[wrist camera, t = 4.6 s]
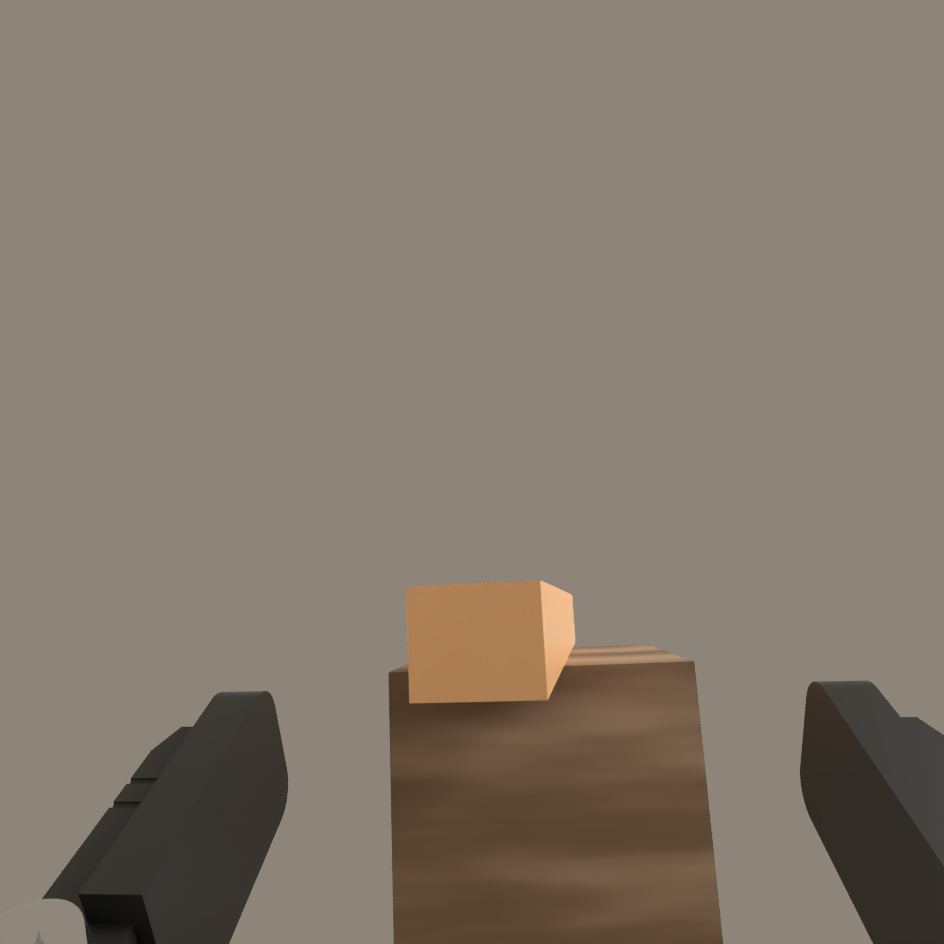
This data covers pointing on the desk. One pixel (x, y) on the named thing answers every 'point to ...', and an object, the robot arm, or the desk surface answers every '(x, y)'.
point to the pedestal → (556, 810)
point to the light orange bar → (487, 641)
